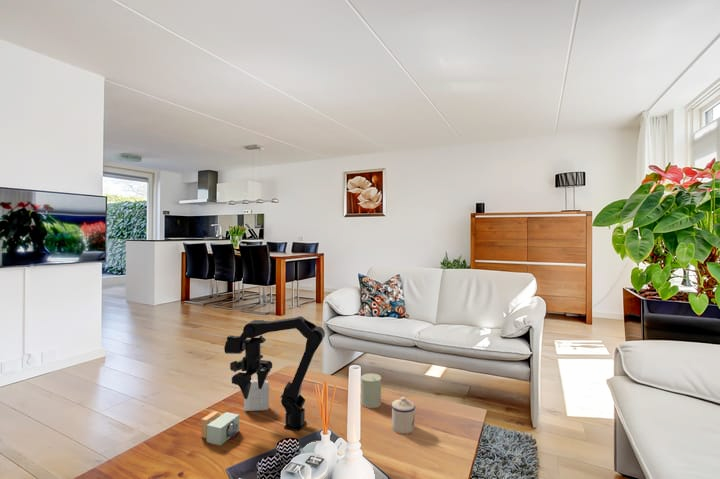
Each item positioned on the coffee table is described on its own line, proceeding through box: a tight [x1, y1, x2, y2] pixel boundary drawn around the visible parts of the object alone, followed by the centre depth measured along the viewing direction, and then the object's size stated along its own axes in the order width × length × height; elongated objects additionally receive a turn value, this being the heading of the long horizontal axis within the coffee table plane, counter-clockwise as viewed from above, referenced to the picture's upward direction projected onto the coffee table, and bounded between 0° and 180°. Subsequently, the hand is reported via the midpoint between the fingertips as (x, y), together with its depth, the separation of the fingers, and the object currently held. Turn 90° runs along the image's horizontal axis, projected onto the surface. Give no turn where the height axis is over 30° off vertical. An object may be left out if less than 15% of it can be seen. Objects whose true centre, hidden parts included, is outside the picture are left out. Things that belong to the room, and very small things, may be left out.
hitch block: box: [206, 411, 240, 446], centre depth 127 cm, size 6×10×6 cm, turn 161°
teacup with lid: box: [391, 396, 416, 435], centre depth 135 cm, size 12×9×12 cm
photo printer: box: [243, 378, 270, 412], centre depth 148 cm, size 10×4×12 cm, turn 98°
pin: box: [209, 420, 238, 438], centre depth 127 cm, size 12×4×4 cm, turn 71°
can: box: [360, 372, 382, 409], centre depth 154 cm, size 9×9×12 cm
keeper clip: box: [200, 410, 220, 439], centre depth 129 cm, size 2×6×6 cm, turn 161°
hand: (253, 393), depth 136 cm, fingers open, 9 cm apart
